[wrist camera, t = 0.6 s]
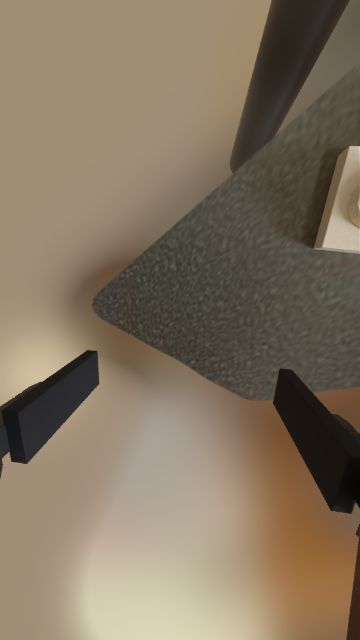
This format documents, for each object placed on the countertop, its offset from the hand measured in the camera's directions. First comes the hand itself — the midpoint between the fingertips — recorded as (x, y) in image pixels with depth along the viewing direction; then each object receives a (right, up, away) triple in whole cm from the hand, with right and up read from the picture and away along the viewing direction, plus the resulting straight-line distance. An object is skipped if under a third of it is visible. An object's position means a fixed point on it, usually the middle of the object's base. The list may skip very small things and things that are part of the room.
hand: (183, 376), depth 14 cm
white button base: (+25, +20, +14) cm, 35 cm away
